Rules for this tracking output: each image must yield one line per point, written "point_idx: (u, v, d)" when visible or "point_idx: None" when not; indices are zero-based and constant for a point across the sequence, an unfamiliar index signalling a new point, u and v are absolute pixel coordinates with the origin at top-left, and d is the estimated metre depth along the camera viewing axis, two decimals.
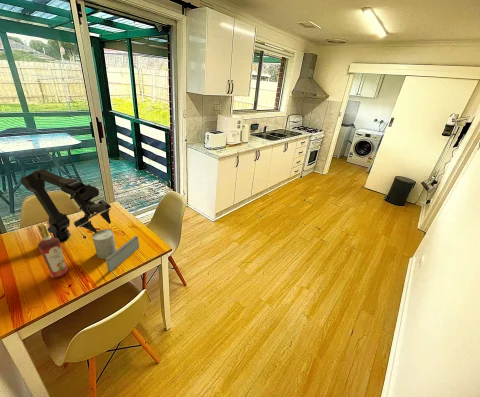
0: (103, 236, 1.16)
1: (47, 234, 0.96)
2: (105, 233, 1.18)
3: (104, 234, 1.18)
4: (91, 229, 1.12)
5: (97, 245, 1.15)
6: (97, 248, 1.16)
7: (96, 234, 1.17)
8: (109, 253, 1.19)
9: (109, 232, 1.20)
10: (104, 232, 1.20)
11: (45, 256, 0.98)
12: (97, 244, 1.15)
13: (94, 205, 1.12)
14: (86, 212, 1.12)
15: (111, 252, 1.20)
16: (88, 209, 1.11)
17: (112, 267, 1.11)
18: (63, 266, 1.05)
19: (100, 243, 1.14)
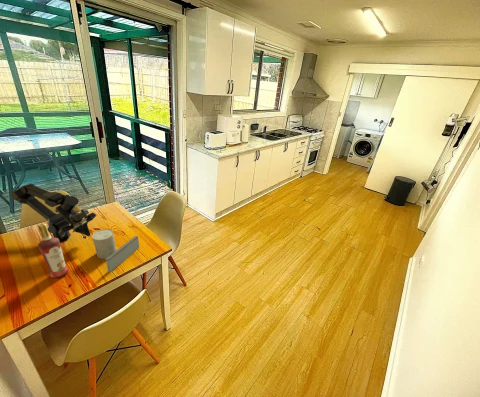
0: (103, 236, 1.16)
1: (47, 234, 0.96)
2: (105, 233, 1.18)
3: (104, 234, 1.18)
4: (84, 233, 1.20)
5: (97, 245, 1.15)
6: (97, 248, 1.16)
7: (96, 234, 1.17)
8: (109, 253, 1.19)
9: (109, 232, 1.20)
10: (104, 232, 1.20)
11: (45, 256, 0.98)
12: (97, 244, 1.15)
13: (76, 214, 1.17)
14: (70, 222, 1.17)
15: (111, 252, 1.20)
16: (71, 218, 1.16)
17: (112, 267, 1.11)
18: (63, 266, 1.05)
19: (100, 243, 1.14)
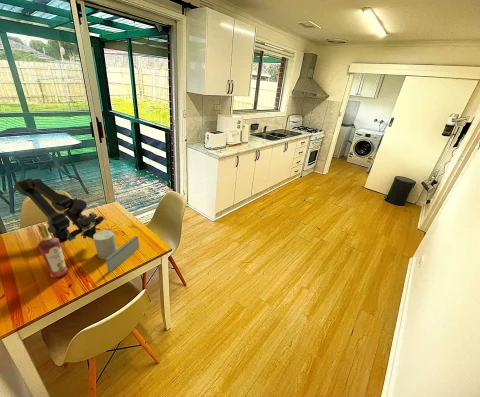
0: (104, 236, 1.16)
1: (47, 234, 0.96)
2: (106, 233, 1.18)
3: (105, 234, 1.18)
4: (92, 237, 1.19)
5: (98, 245, 1.15)
6: (98, 248, 1.16)
7: (97, 234, 1.17)
8: (110, 253, 1.19)
9: (110, 232, 1.19)
10: (105, 232, 1.19)
11: (45, 256, 0.98)
12: (98, 244, 1.14)
13: (84, 218, 1.16)
14: (78, 226, 1.16)
15: (112, 252, 1.20)
16: (79, 222, 1.15)
17: (112, 267, 1.11)
18: (63, 266, 1.05)
19: (101, 243, 1.14)
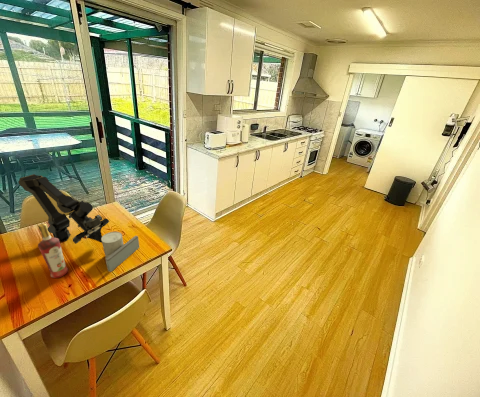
0: (112, 239, 1.15)
1: (47, 234, 0.96)
2: (114, 236, 1.17)
3: (113, 236, 1.17)
4: (97, 239, 1.19)
5: (106, 248, 1.14)
6: (106, 251, 1.15)
7: (105, 237, 1.16)
8: None
9: (118, 235, 1.18)
10: (113, 234, 1.18)
11: (45, 256, 0.98)
12: (106, 247, 1.13)
13: (90, 220, 1.15)
14: (84, 228, 1.16)
15: None
16: (85, 225, 1.15)
17: (112, 267, 1.11)
18: (63, 266, 1.05)
19: (109, 246, 1.13)
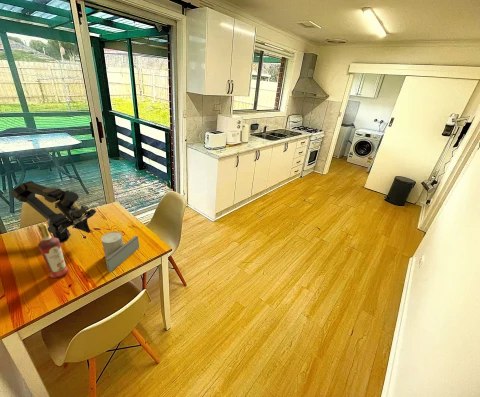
0: (112, 239, 1.15)
1: (47, 234, 0.96)
2: (114, 236, 1.17)
3: (113, 236, 1.17)
4: (83, 229, 1.19)
5: (106, 248, 1.14)
6: (106, 251, 1.15)
7: (105, 237, 1.16)
8: None
9: (118, 235, 1.18)
10: (113, 234, 1.18)
11: (45, 256, 0.98)
12: (106, 247, 1.13)
13: (76, 210, 1.15)
14: (70, 218, 1.16)
15: None
16: (70, 214, 1.15)
17: (112, 267, 1.11)
18: (63, 266, 1.05)
19: (109, 246, 1.13)
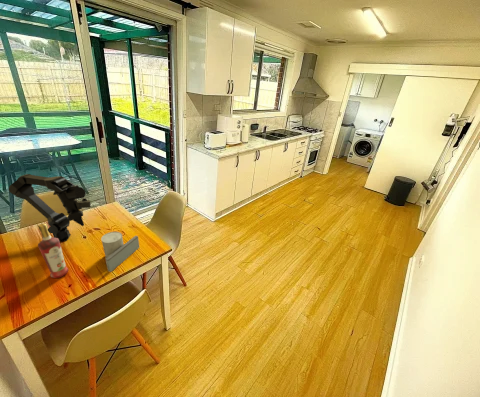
0: (112, 239, 1.15)
1: (47, 234, 0.96)
2: (114, 236, 1.17)
3: (113, 236, 1.17)
4: (80, 221, 1.21)
5: (106, 248, 1.14)
6: (106, 251, 1.15)
7: (105, 237, 1.16)
8: None
9: (118, 235, 1.18)
10: (113, 234, 1.18)
11: (45, 256, 0.98)
12: (106, 247, 1.13)
13: (82, 201, 1.21)
14: (73, 208, 1.17)
15: None
16: (78, 204, 1.18)
17: (112, 267, 1.11)
18: (63, 266, 1.05)
19: (109, 246, 1.13)
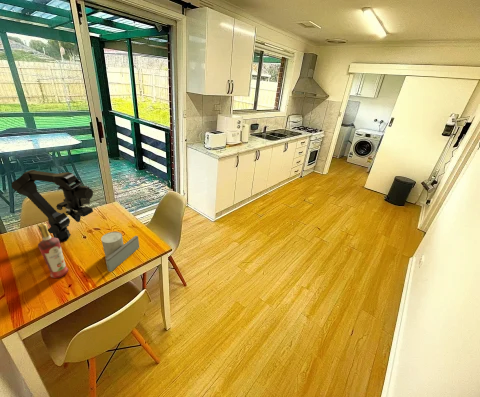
0: (112, 239, 1.15)
1: (47, 234, 0.96)
2: (114, 236, 1.17)
3: (113, 236, 1.17)
4: (78, 218, 1.23)
5: (106, 248, 1.14)
6: (106, 251, 1.15)
7: (105, 237, 1.16)
8: None
9: (118, 235, 1.18)
10: (113, 234, 1.18)
11: (45, 256, 0.98)
12: (106, 247, 1.13)
13: (82, 198, 1.23)
14: (78, 204, 1.19)
15: None
16: (82, 201, 1.21)
17: (112, 267, 1.11)
18: (63, 266, 1.05)
19: (109, 246, 1.13)
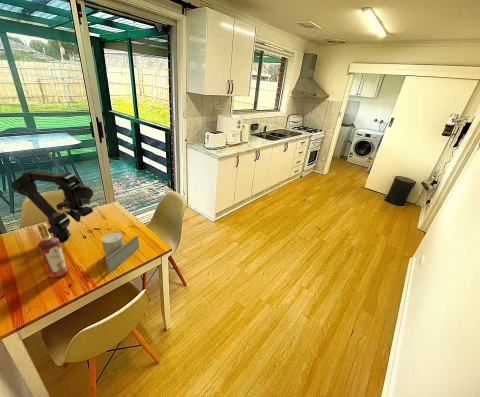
0: (112, 239, 1.15)
1: (47, 234, 0.96)
2: (114, 236, 1.17)
3: (113, 236, 1.17)
4: (78, 218, 1.23)
5: (106, 248, 1.14)
6: (106, 251, 1.15)
7: (105, 237, 1.16)
8: None
9: (118, 235, 1.18)
10: (113, 234, 1.18)
11: (45, 256, 0.98)
12: (106, 247, 1.13)
13: (82, 198, 1.23)
14: (78, 204, 1.19)
15: None
16: (82, 201, 1.21)
17: (112, 267, 1.11)
18: (63, 266, 1.05)
19: (109, 246, 1.13)
